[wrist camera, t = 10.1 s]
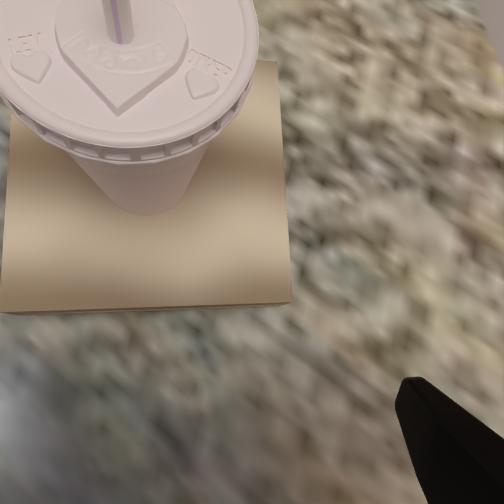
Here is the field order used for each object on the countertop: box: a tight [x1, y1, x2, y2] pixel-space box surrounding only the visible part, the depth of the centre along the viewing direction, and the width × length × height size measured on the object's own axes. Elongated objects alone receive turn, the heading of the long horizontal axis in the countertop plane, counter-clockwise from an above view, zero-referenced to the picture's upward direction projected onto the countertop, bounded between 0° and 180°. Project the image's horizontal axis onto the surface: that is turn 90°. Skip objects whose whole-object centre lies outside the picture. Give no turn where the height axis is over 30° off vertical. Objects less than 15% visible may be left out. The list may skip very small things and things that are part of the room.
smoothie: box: [0, 0, 259, 215], centre depth 12 cm, size 6×6×14 cm
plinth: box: [0, 60, 293, 315], centre depth 20 cm, size 12×12×2 cm
